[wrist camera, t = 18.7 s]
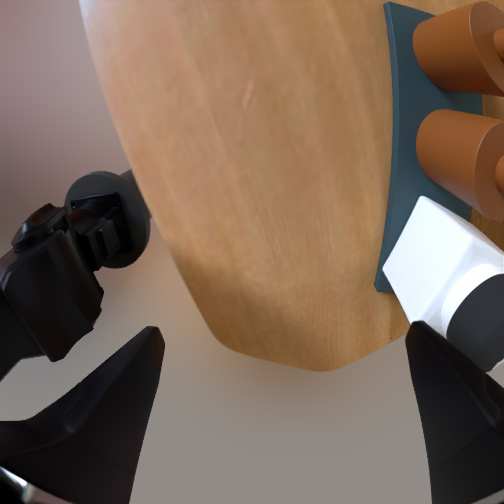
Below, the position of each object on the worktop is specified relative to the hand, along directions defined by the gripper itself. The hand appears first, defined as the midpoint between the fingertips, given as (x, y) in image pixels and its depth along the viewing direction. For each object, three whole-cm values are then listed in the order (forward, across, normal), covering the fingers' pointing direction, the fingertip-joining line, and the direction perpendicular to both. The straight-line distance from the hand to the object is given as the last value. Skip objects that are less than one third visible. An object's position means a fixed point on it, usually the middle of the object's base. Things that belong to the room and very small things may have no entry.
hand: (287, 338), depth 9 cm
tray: (+13, -13, -4) cm, 19 cm away
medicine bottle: (+12, -13, +3) cm, 18 cm away
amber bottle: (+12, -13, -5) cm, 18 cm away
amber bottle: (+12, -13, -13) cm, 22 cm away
